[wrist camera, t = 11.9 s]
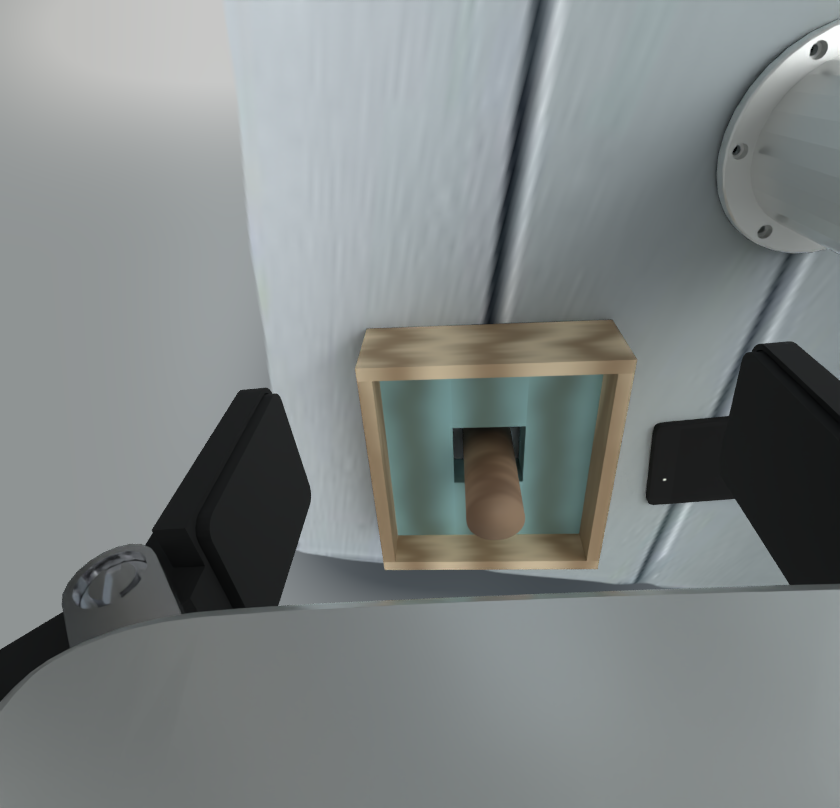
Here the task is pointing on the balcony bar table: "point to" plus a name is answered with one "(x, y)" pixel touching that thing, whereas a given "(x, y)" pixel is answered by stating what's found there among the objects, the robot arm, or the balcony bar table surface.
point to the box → (494, 407)
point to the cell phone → (687, 462)
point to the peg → (491, 483)
